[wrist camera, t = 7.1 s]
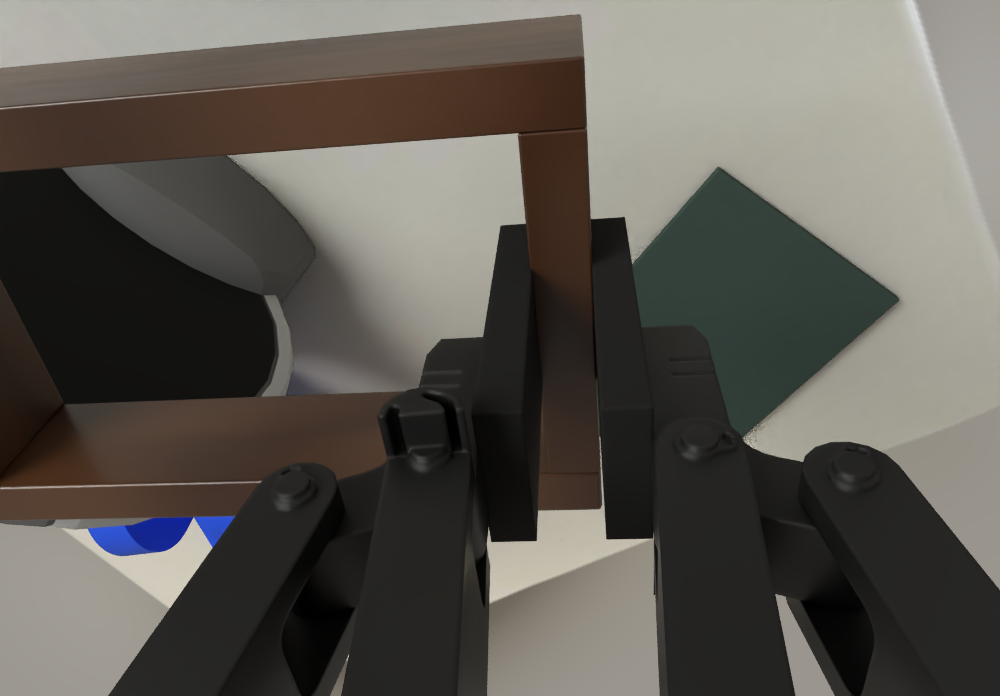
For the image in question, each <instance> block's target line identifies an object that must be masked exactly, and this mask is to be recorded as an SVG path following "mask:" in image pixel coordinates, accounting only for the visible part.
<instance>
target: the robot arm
mask: <svg viewBox="0 0 1000 696" xmlns="http://www.w3.org/2000/svg"><path fill="white" fill-rule="evenodd" d="M591 241H592V277H593V299H594V321H595V344H596V367H597V386H598V403H599V420H600V437H601V454H602V471H603V488H604V505H605V522H606V539H651V538H653V532H654V595H656V596H655V598H656V619H657V640H658V641H657V643H658V666H659V687H660V696H795V692H794V686H793V681H792V676H791V672H790V666H789V661H788V656H787V651H786V646H785V641H784V636H783V631H782V626H781V621H780V616H779V611H778V606H777V601H776V596H775V594H778V595H782V596H786V600H787V604H788V605H789V608H790V610H791V611H792V613H793V615H794V617H795V619H796V621H797V623H798V625H799V627H800V629H801V631H802V633H803V635H804V637H805V638H806V641H807V643H808V644H809V646H810V648H811V650H812V652H813V654H814V656H815V658H816V660H817V662H818V664H819V666H820V668H821V669H822V672H823V674H824V675H825V678H826V679H827V681H828V683H829V685H830V687H831V689H832V691H833V693H834V695H835V696H1000V590H999V589H998V587H997V586H996V585H995V584H994V582H993V581H992V580H991V579H990V577H989V576H988V575H987V574H986V573H985V571H984V570H983V569H982V568H981V566H980V565H979V564H978V563H977V561H976V560H975V559H974V558H973V556H972V555H971V554H970V553H969V552H968V550H967V549H966V548H965V547H964V545H963V544H962V543H961V542H960V541H959V539H958V538H957V537H956V535H955V534H954V533H953V532H952V531H951V529H950V528H949V527H948V526H947V524H946V523H945V522H944V521H943V519H942V518H941V517H940V516H939V515H938V513H937V512H936V511H935V510H934V508H933V507H932V506H931V505H930V503H929V502H928V501H927V500H926V498H925V497H924V496H923V495H922V494H921V492H920V491H919V490H918V489H917V487H916V486H915V485H914V484H913V483H912V481H911V480H910V479H909V478H908V476H907V475H906V474H905V472H904V471H903V470H902V469H901V468H900V466H899V465H898V464H897V463H895V462H894V461H893V460H892V459H891V458H890V457H888V456H887V455H886V454H884V453H882V452H880V451H878V450H876V449H874V448H872V447H869V446H866V445H861V444H857V443H852V442H830V443H827V444H824V445H821V446H817V447H815V448H814V449H813V450H811V451H810V452H809V453H808V454H807V455H806V456H805V458H804V462H800V461H795V460H790V459H785V458H779V457H775V456H772V455H768V454H764V453H762V452H760V451H758V450H756V449H753V448H751V447H750V446H749V445H747V444H746V443H744V441H743V439H742V437H741V435H740V433H738V432H737V431H736V430H735V429H733V428H732V426H731V424H730V420H729V417H728V413H727V410H726V406H725V402H724V399H723V395H722V392H721V388H720V384H719V381H718V377H717V374H716V370H715V366H714V363H713V360H712V355H711V352H710V348H709V345H708V341H707V339H706V338H705V337H704V336H703V335H702V334H701V333H700V332H699V331H698V330H697V329H696V328H695V327H693V326H692V325H672V326H653V327H641V320H640V314H639V307H638V301H637V294H636V288H635V281H634V275H633V268H632V261H631V255H630V248H629V242H628V235H627V229H626V222H625V217H620V218H605V219H591ZM422 373H423V375H422V376H421V380H420V384H419V388H416V389H411V390H407V391H405V392H402V393H400V394H398V395H396V396H394V397H392V398H391V399H390V400H389V401H388V402H386V403H385V404H384V405H383V406H382V408H381V410H380V411H379V413H378V415H377V419H378V423H379V427H380V431H381V435H382V439H383V443H384V447H385V451H386V455H387V460H386V463H384V464H382V465H380V466H378V467H376V468H375V469H372V470H369V471H366V472H363V473H360V474H356V475H352V476H349V477H345V478H341V479H338V480H337V478H336V475H335V473H334V472H333V471H332V470H331V469H329V468H328V467H327V466H325V465H322V464H318V463H314V462H306V463H295V464H292V465H289V466H285V467H282V468H280V469H278V470H276V471H275V472H273V473H271V474H270V475H268V476H266V477H265V478H264V479H263V480H262V481H261V482H260V483H259V484H258V485H257V486H256V487H255V489H254V490H253V492H252V493H251V494H250V496H249V497H248V499H247V500H246V502H245V503H244V504H243V506H242V507H241V509H240V510H239V511H238V513H237V514H236V516H235V517H234V519H233V520H232V521H231V523H230V524H229V526H228V527H227V528H226V530H225V531H224V533H223V534H222V536H221V537H220V538H219V540H218V541H217V543H216V544H215V545H214V547H213V548H212V550H211V551H210V553H209V554H208V555H207V557H206V558H205V560H204V561H203V562H202V564H201V565H200V567H199V568H198V569H197V571H196V572H195V574H194V575H193V577H192V578H191V579H190V581H189V582H188V584H187V585H186V586H185V588H184V589H183V591H182V592H181V594H180V595H179V596H178V598H177V599H176V601H175V602H174V603H173V605H172V606H171V608H170V609H169V611H168V612H167V613H166V615H165V616H164V618H163V619H162V620H161V622H160V623H159V625H158V626H157V628H156V629H155V630H154V632H153V633H152V635H151V636H150V637H149V639H148V640H147V642H146V643H145V645H144V646H143V647H142V649H141V650H140V652H139V653H138V654H137V656H136V657H135V659H134V660H133V662H132V663H131V664H130V666H129V667H128V669H127V670H126V671H125V673H124V674H123V676H122V677H121V679H120V680H119V681H118V683H117V684H116V686H115V687H114V689H113V690H112V691H111V693H110V694H109V695H108V696H330V694H331V692H332V690H333V687H334V685H335V683H336V681H337V678H338V677H339V674H340V672H341V670H342V668H343V666H344V664H345V661H346V659H347V657H348V655H349V658H348V664H347V668H346V673H345V679H344V684H343V689H342V695H341V696H487V671H488V629H489V588H490V563H489V557H488V551H487V536H488V527H489V530H490V536H491V542H511V541H537V517H538V491H539V464H540V438H541V411H542V384H543V381H542V371H541V360H540V349H539V338H538V328H537V317H536V306H535V295H534V284H533V274H532V269H530V263H529V252H528V241H527V230H526V224H517V225H503V226H501V227H500V233H499V240H498V246H497V252H496V259H495V265H494V271H493V278H492V284H491V291H490V297H489V303H488V310H487V316H486V322H485V329H484V335H483V337H477V338H457V339H441V340H440V341H439V342H438V343H437V345H436V346H435V347H434V348H433V349H432V350H431V351H430V352H429V353H428V354H427V356H426V360H425V364H424V368H423V372H422Z"/></svg>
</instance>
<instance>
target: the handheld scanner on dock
mask: <svg viewBox="0 0 1000 696" xmlns="http://www.w3.org/2000/svg"><path fill="white" fill-rule="evenodd" d="M314 259H315V246H314V245H313V244H312V242H311V241H310V239H309V238H308V236H307V235H306V234H305V232H304V231H303V229H302V228H301V226H300V225H299V224H298V222H297V221H296V220H295V219H294V218H293V216H292V215H291V214H290V213H289V212H288V211H287V210H286V209H285V208H284V207H283V206H282V205H281V204H280V203H279V202H278V201H277V200H276V199H275V198H274V197H273V196H272V195H271V194H270V193H269V192H268V191H267V189H266V188H265V187H263V186H262V185H261V184H260V183H259V182H257V181H256V180H255V179H254V178H252V177H251V176H250V175H249V174H247V173H246V172H245V171H244V170H242V169H241V168H240V167H239V166H238V165H236V164H235V163H234V162H233V161H231V160H230V159H229V158H228V157H226V156H225V155H224V156H211V157H197V158H184V159H171V160H158V161H145V162H132V163H119V164H105V165H92V166H79V167H66V168H53V169H40V170H27V171H13V172H0V280H1V282H2V284H3V286H4V287H5V289H6V291H7V293H8V295H9V297H10V299H11V301H12V303H13V305H14V307H15V309H16V311H17V313H18V315H19V316H20V318H21V320H22V322H23V324H24V326H25V328H26V330H27V332H28V334H29V336H30V338H31V340H32V342H33V344H34V345H35V347H36V349H37V351H38V353H39V355H40V357H41V359H42V361H43V363H44V365H45V367H46V369H47V371H48V373H49V375H50V376H51V378H52V380H53V382H54V384H55V386H56V388H57V390H58V392H59V394H60V396H61V398H62V400H63V404H83V403H109V402H135V401H162V400H188V399H214V398H241V397H267V396H286V393H287V389H288V385H289V381H290V377H291V374H292V370H293V366H294V364H293V354H292V343H291V333H290V330H289V327H288V324H287V322H286V319H285V316H284V314H283V311H282V309H281V306H280V304H281V303H282V301H283V300H284V299H285V297H286V296H287V295H288V293H289V292H290V291H291V289H292V288H293V287H294V285H295V284H296V283H297V281H298V280H299V279H300V277H301V276H302V275H303V273H304V272H305V271H306V269H307V268H308V267H309V265H310V264H311V263H312V261H313V260H314ZM149 519H152V518H123V519H72V520H20V521H0V523H4V524H12V525H26V526H41V527H46V526H52V527H60V528H67V529H87V528H100V527H112V526H125V525H134V524H137V523H140V522H143V521H146V520H149Z"/></svg>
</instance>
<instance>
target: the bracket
mask: <svg viewBox="0 0 1000 696" xmlns="http://www.w3.org/2000/svg"><path fill="white" fill-rule="evenodd" d="M286 396H287V394H286ZM234 517H235V516H226V517H194V518H195V520H196V521H197V523H198V524H199V526H200V528H201V529H202V531H203V532H204V534H205V536H206V537H207V539H208V541H209V542H210V544H211V545H212V547H214V545H215V544H216V543H217V541H218V540H219V538H220V537H221V536H222V534H223V533H224V531H225V530H226V528H227V527H228V526H229V524H230V523H231V521H232V520H233V519H234ZM192 519H193V517H175V518H152V519H149V520H146V521H143V522H140V523H137V524H134V525H125V526H112V527H100V528H88V531H89V532H90V534H91V536H92V537H93V539H94V540H95V541H96V543H97V544H98V545H99V546H100V547H102V548H103V549H104V550H105V551H107V552H109V553H111V554H113V555H117V556H129V555H137V554H146V553H154V552H162V551H166V550H168V549H170V548H172V547H173V546H174V545H176V544H177V543H178V542H179V541H180V540H181V538H182V537H183V535H184V534H185V532H186V530H187V529H188V527H189V525H190V523H191V521H192Z"/></svg>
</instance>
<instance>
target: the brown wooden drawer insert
mask: <svg viewBox="0 0 1000 696" xmlns="http://www.w3.org/2000/svg"><path fill="white" fill-rule="evenodd" d="M513 133H519V134H518V141H519V152H520V163H521V174H522V185H523V196H524V207H525V219H526V230H527V241H528V252H529V263H530V269H532V274H533V284H534V295H535V306H536V317H537V328H538V338H539V349H540V360H541V371H542V381H543V384H542V411H541V438H540V464H539V491H538V510H587V509H600V508H601V506H602V493H601V467H600V442H599V417H598V392H597V367H596V344H595V321H594V299H593V277H592V241H591V216H590V191H589V166H588V141H587V116H586V90H585V65H584V48H583V34H582V20H581V15H579V14H577V15H567V16H556V17H545V18H534V19H524V20H513V21H502V22H491V23H481V24H470V25H459V26H448V27H438V28H427V29H416V30H405V31H395V32H384V33H373V34H362V35H352V36H341V37H330V38H319V39H309V40H298V41H287V42H276V43H266V44H255V45H244V46H233V47H223V48H212V49H201V50H191V51H180V52H169V53H158V54H148V55H137V56H126V57H115V58H105V59H94V60H83V61H72V62H62V63H51V64H40V65H29V66H19V67H8V68H0V172H13V171H27V170H40V169H53V168H66V167H79V166H92V165H105V164H119V163H132V162H145V161H158V160H171V159H184V158H197V157H211V156H224V155H237V154H250V153H263V152H276V151H289V150H303V149H316V148H329V147H342V146H355V145H368V144H381V143H395V142H408V141H421V140H434V139H447V138H460V137H473V136H487V135H500V134H513ZM402 392H405V391H399V392H372V393H346V394H320V395H293V396H267V397H241V398H214V399H188V400H162V401H135V402H109V403H83V404H63V400H62V398H61V396H60V394H59V392H58V390H57V388H56V386H55V384H54V382H53V380H52V378H51V376H50V375H49V373H48V371H47V369H46V367H45V365H44V363H43V361H42V359H41V357H40V355H39V353H38V351H37V349H36V347H35V345H34V344H33V342H32V340H31V338H30V336H29V334H28V332H27V330H26V328H25V326H24V324H23V322H22V320H21V318H20V316H19V315H18V313H17V311H16V309H15V307H14V305H13V303H12V301H11V299H10V297H9V295H8V293H7V291H6V289H5V287H4V286H3V284H2V282H1V280H0V521H20V520H72V519H123V518H175V517H226V516H236V514H237V513H238V511H239V510H240V509H241V507H242V506H243V504H244V503H245V502H246V500H247V499H248V497H249V496H250V494H251V493H252V492H253V490H254V489H255V487H256V486H257V485H258V484H259V483H260V482H261V481H262V480H263V479H264V478H265V477H266V476H268V475H270V474H271V473H273V472H275V471H276V470H278V469H280V468H282V467H285V466H289V465H292V464H295V463H306V462H314V463H318V464H322V465H325V466H327V467H328V468H329V469H331V470H332V471H333V472H334V473H335V475H336V478H337V480H338V479H341V478H345V477H349V476H352V475H356V474H360V473H363V472H366V471H369V470H372V469H375V468H376V467H378V466H380V465H382V464H384V463H386V460H387V455H386V451H385V447H384V443H383V439H382V435H381V431H380V427H379V423H378V419H377V415H378V413H379V411H380V410H381V408H382V406H383V405H384V404H385V403H386V402H388V401H389V400H390V399H391V398H392V397H394V396H396V395H398V394H400V393H402Z"/></svg>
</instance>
